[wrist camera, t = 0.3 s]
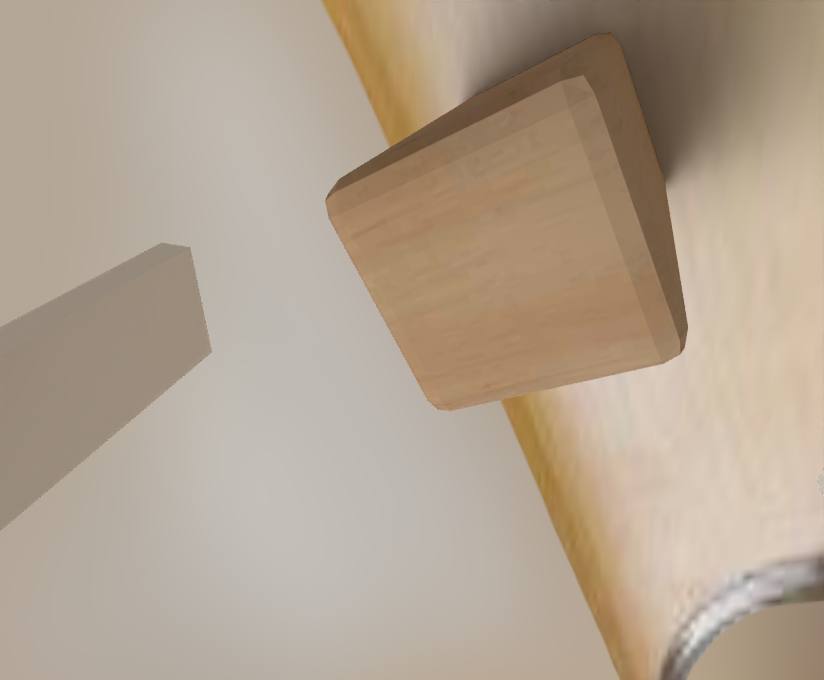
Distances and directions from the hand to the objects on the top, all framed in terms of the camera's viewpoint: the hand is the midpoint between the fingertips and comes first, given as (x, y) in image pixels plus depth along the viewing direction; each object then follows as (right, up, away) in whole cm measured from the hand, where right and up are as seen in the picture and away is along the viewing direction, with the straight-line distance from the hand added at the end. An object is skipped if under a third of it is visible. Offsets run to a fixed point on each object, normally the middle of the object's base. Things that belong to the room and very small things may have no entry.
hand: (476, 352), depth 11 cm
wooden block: (+8, +12, +24) cm, 28 cm away
